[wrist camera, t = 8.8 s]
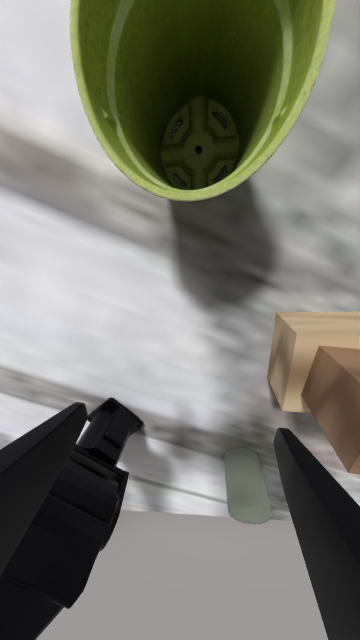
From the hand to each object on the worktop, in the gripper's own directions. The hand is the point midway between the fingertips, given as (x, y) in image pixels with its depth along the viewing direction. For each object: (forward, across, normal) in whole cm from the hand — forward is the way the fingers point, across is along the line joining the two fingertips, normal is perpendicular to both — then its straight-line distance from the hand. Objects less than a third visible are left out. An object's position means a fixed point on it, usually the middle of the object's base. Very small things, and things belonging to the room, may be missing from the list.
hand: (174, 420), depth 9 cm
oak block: (+13, -12, +2) cm, 18 cm away
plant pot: (+13, 0, -14) cm, 19 cm away
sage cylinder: (+12, -8, +22) cm, 26 cm away
